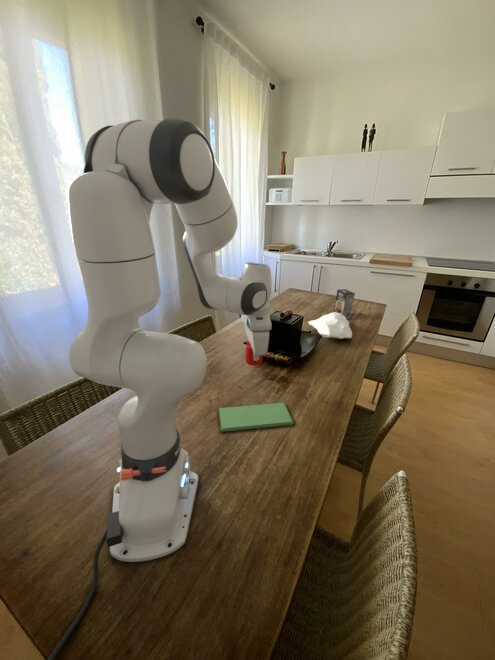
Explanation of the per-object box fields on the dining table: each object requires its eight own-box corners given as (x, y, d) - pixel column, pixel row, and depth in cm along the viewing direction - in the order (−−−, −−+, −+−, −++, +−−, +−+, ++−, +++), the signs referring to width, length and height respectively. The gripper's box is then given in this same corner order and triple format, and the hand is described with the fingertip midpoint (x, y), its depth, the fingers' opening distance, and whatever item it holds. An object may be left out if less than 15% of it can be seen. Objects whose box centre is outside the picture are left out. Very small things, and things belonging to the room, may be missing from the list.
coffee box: (332, 314, 177) (336, 289, 171) (341, 313, 179) (345, 288, 173) (341, 319, 169) (345, 293, 163) (350, 318, 171) (355, 292, 165)
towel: (293, 424, 85) (293, 422, 84) (221, 432, 81) (221, 429, 81) (284, 403, 94) (284, 401, 94) (218, 409, 90) (218, 407, 90)
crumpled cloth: (298, 338, 139) (303, 321, 135) (314, 316, 168) (318, 302, 164) (346, 354, 132) (352, 338, 128) (353, 328, 161) (359, 314, 157)
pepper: (263, 365, 91) (264, 344, 88) (246, 366, 90) (247, 345, 87) (260, 356, 96) (261, 337, 93) (244, 357, 95) (244, 338, 92)
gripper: (240, 304, 96) (240, 341, 101) (251, 328, 77) (249, 371, 83) (258, 304, 97) (257, 340, 102) (273, 327, 78) (270, 369, 84)
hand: (253, 354), depth 92 cm, fingers closed on pepper, 5 cm apart
